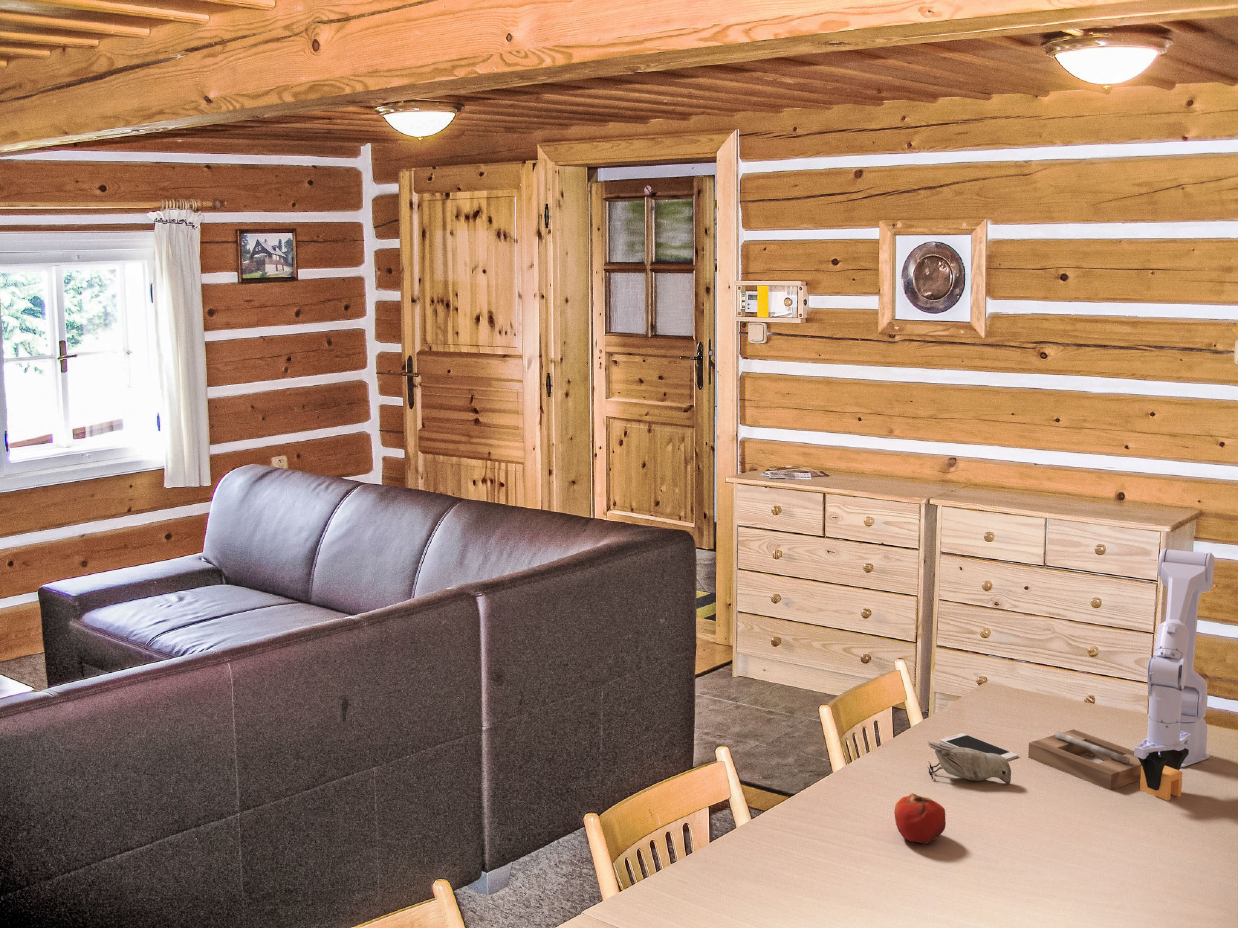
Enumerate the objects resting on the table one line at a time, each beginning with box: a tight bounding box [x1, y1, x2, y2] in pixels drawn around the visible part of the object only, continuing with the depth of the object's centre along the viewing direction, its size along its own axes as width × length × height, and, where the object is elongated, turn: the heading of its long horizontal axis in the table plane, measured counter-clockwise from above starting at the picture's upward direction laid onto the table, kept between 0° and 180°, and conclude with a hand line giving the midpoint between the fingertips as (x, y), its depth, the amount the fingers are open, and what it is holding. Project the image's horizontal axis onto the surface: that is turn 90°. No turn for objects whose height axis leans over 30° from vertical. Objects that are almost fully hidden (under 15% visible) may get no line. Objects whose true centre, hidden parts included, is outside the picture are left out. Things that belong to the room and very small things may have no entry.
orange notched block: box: [1139, 766, 1183, 801], centre depth 242 cm, size 4×6×5 cm
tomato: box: [893, 792, 947, 844], centre depth 224 cm, size 9×9×8 cm
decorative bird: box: [926, 740, 1012, 785], centre depth 249 cm, size 5×16×8 cm, turn 73°
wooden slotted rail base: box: [1028, 728, 1142, 791], centre depth 256 cm, size 14×20×5 cm
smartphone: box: [939, 732, 1019, 761], centre depth 266 cm, size 7×15×1 cm, turn 32°
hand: (1160, 785), depth 242 cm, fingers closed on orange notched block, 4 cm apart
